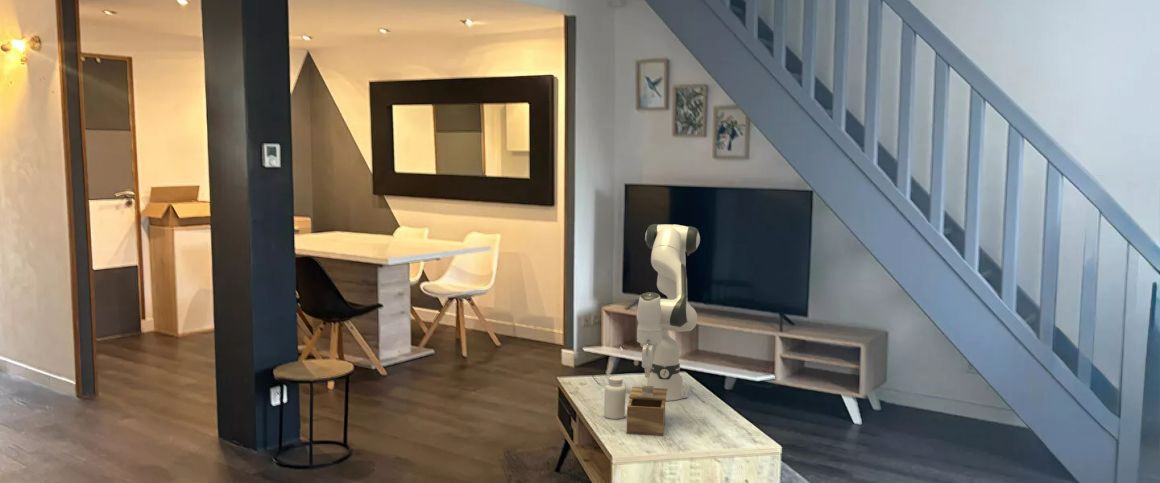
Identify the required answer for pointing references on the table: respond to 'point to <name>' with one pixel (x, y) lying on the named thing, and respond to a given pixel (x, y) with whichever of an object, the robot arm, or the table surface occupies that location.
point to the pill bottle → (614, 399)
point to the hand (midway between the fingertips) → (648, 373)
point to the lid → (648, 393)
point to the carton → (645, 417)
